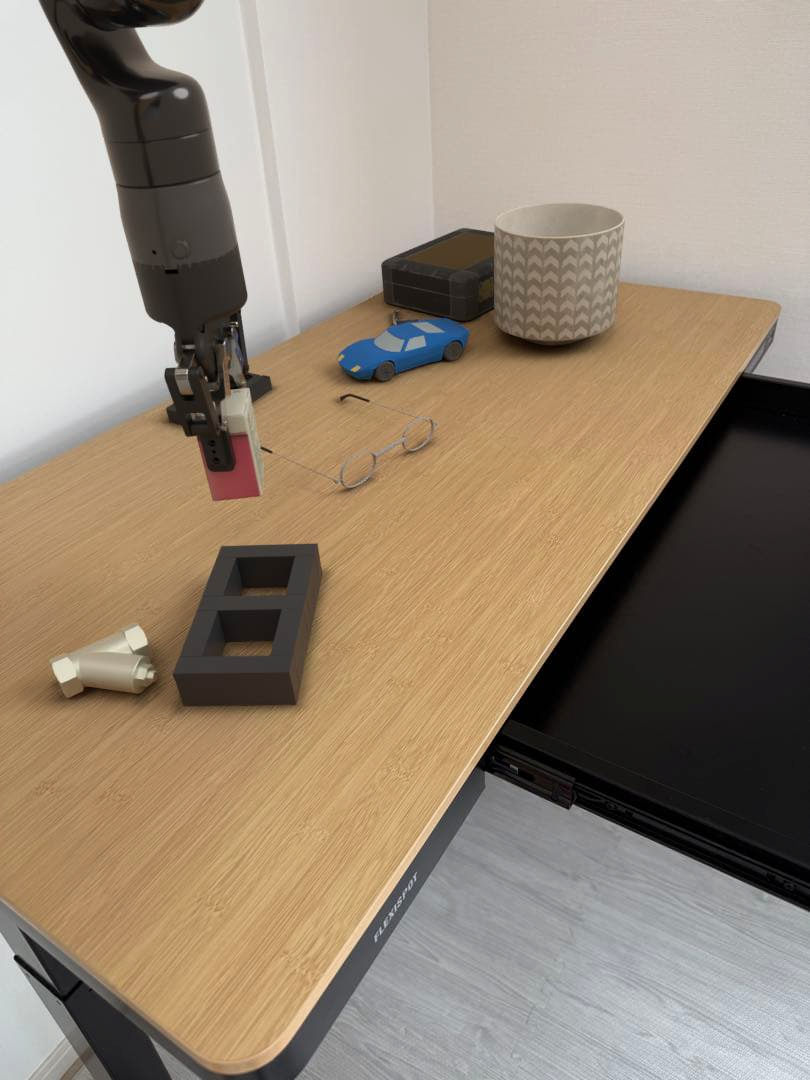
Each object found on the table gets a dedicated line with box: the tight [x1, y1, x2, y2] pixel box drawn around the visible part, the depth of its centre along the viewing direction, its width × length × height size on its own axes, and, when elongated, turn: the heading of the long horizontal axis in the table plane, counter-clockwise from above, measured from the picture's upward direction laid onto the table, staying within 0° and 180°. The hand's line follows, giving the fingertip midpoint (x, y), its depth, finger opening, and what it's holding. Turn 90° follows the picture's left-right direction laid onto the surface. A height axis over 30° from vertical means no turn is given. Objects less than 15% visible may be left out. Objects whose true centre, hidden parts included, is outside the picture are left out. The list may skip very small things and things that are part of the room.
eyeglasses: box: [260, 393, 438, 489], centre depth 103 cm, size 18×19×4 cm
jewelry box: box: [380, 227, 494, 322], centre depth 145 cm, size 25×20×8 cm
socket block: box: [172, 542, 323, 707], centre depth 74 cm, size 18×10×4 cm, turn 178°
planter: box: [493, 201, 626, 347], centre depth 123 cm, size 19×19×18 cm
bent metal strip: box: [391, 310, 420, 326], centre depth 137 cm, size 7×1×5 cm
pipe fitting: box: [48, 621, 159, 698], centre depth 70 cm, size 8×4×7 cm
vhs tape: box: [165, 372, 273, 425], centre depth 115 cm, size 14×8×2 cm, turn 151°
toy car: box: [337, 317, 470, 383], centre depth 122 cm, size 9×20×5 cm, turn 120°
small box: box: [196, 388, 265, 502], centre depth 66 cm, size 5×4×8 cm
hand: (230, 450), depth 66 cm, fingers closed on small box, 5 cm apart
